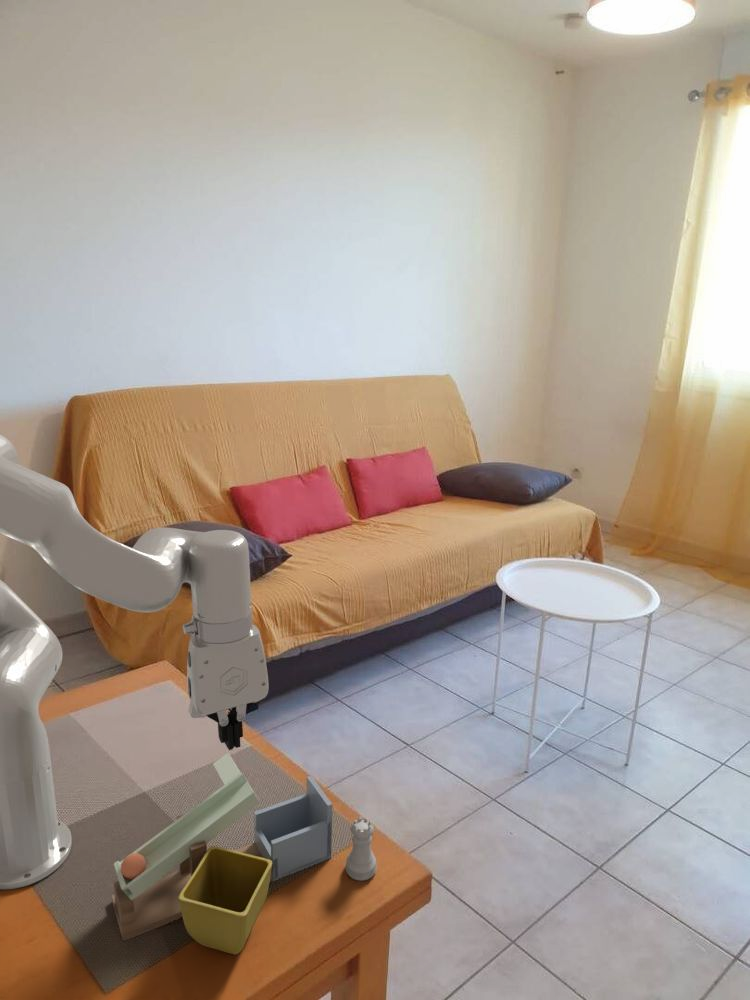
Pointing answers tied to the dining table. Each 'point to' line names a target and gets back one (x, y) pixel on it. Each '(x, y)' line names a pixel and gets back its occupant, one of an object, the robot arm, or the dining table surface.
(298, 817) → the blue-grey box
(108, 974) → the dining table surface
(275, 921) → the dining table surface
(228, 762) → the lever
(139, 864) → the ball
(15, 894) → the dining table surface
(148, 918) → the catapult base
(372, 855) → the rook chess piece
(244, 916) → the flower pot
